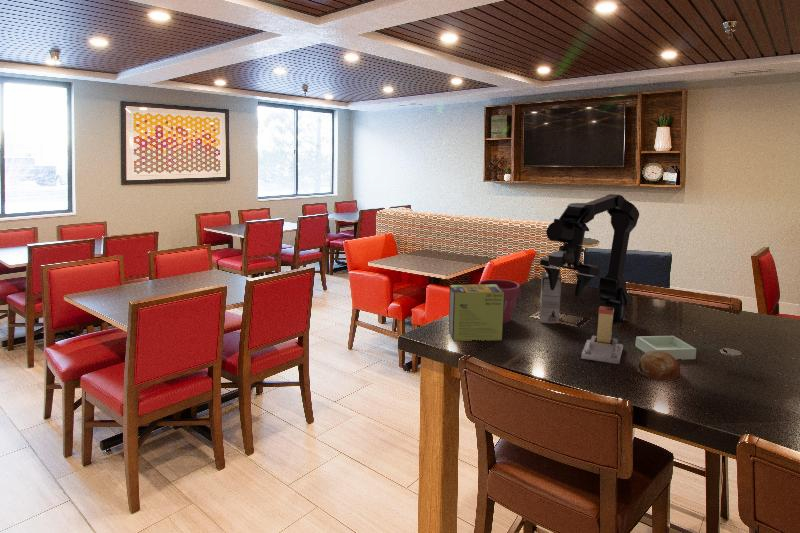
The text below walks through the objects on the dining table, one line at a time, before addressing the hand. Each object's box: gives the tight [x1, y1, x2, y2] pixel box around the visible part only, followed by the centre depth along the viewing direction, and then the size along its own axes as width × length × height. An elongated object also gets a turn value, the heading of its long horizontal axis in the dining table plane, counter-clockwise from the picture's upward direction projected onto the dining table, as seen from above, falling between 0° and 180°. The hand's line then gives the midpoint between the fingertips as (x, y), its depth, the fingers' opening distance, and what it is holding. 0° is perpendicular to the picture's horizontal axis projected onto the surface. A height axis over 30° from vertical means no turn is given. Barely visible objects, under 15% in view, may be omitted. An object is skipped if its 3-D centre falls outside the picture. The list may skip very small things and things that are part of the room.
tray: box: [634, 335, 697, 361], centre depth 160 cm, size 12×12×3 cm
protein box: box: [448, 284, 504, 342], centre depth 173 cm, size 10×15×16 cm
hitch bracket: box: [580, 335, 624, 365], centre depth 159 cm, size 13×10×4 cm
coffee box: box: [539, 271, 563, 324], centre depth 190 cm, size 9×6×16 cm
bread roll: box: [637, 350, 681, 381], centre depth 145 cm, size 10×10×8 cm
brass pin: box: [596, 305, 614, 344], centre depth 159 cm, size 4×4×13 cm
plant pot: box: [478, 278, 521, 324], centre depth 191 cm, size 14×14×13 cm
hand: (564, 293), depth 173 cm, fingers open, 9 cm apart
